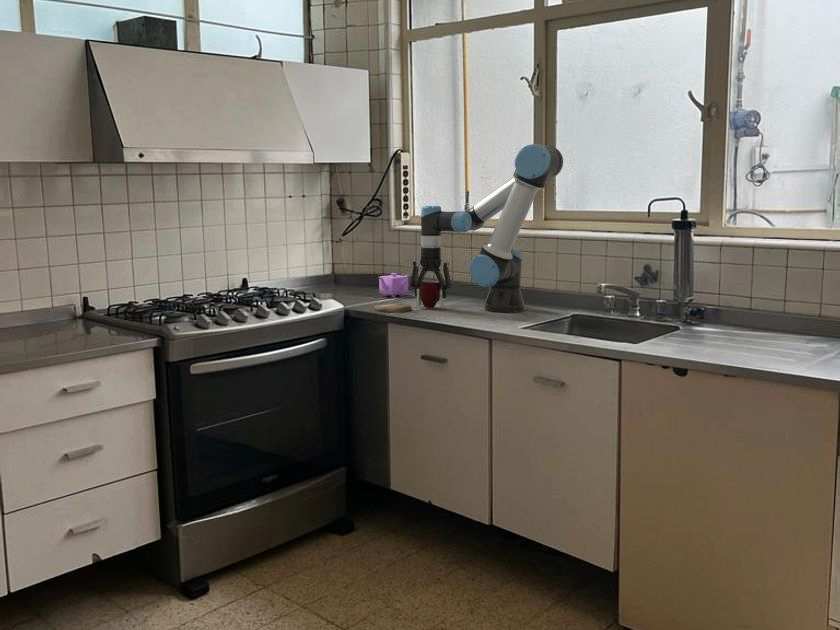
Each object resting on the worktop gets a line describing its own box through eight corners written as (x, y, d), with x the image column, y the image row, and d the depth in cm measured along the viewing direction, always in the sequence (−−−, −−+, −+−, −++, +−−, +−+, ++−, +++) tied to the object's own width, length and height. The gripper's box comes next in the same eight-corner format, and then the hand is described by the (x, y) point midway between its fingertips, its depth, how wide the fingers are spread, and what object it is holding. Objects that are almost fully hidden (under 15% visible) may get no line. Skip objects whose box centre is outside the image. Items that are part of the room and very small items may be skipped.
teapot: (389, 300, 351) (390, 276, 349) (368, 296, 360) (368, 273, 358) (421, 296, 363) (421, 273, 362) (399, 293, 373) (399, 270, 371)
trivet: (417, 308, 328) (417, 305, 328) (403, 313, 315) (403, 310, 315) (383, 306, 333) (383, 302, 333) (368, 310, 320) (368, 307, 320)
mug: (447, 309, 328) (449, 283, 326) (431, 310, 323) (433, 283, 321) (430, 304, 336) (432, 279, 334) (414, 305, 331) (415, 279, 329)
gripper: (460, 247, 326) (460, 306, 329) (408, 245, 333) (408, 303, 337) (454, 248, 319) (453, 308, 322) (400, 246, 326) (400, 305, 330)
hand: (430, 306), depth 329 cm, fingers closed on mug, 9 cm apart
